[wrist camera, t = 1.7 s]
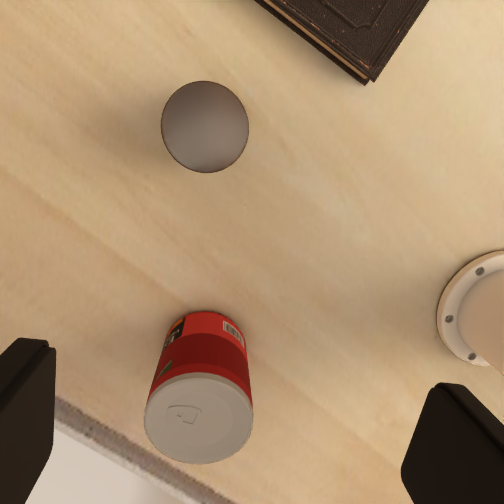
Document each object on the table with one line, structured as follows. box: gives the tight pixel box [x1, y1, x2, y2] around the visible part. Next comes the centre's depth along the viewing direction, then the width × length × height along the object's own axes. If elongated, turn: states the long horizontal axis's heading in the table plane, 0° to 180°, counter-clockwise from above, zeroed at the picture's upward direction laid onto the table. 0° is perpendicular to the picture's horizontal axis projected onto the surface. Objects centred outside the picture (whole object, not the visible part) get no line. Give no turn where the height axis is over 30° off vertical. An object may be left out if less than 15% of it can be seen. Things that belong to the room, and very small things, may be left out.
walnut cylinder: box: [161, 81, 249, 173], centre depth 27 cm, size 6×6×8 cm
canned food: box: [144, 311, 253, 464], centre depth 31 cm, size 8×8×11 cm
